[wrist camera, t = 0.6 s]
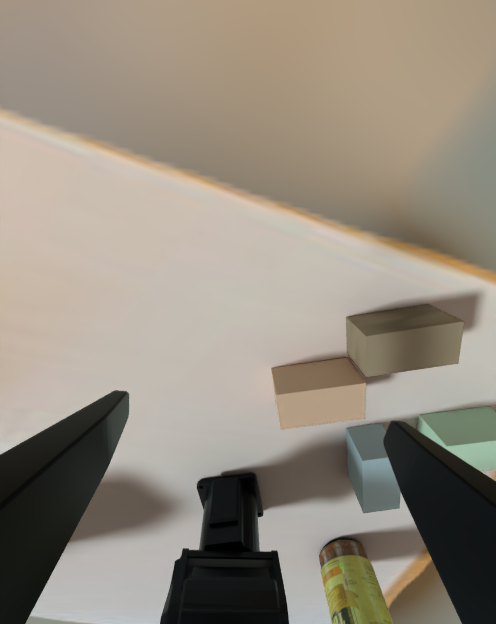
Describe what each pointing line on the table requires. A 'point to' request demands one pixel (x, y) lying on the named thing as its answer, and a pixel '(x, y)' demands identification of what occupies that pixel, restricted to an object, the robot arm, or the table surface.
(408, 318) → the walnut brick
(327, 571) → the sauce bottle
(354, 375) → the tan brick
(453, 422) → the sage brick
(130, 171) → the table surface
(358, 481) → the slate brick
